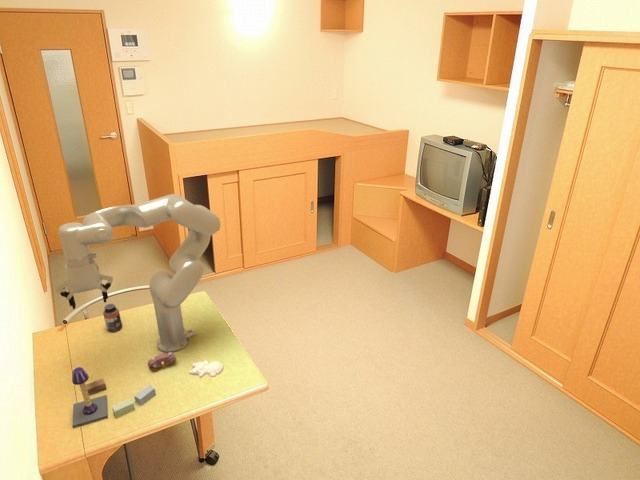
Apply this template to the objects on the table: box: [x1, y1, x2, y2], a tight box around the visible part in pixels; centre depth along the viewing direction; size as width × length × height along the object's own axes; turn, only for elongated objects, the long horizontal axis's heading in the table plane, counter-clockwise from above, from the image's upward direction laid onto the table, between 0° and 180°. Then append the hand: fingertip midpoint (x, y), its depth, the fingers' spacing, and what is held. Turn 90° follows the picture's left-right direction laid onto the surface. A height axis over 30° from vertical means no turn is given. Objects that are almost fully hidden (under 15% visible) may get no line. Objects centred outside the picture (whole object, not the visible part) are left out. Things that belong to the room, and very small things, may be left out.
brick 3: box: [133, 384, 157, 407], centre depth 150 cm, size 6×3×3 cm, turn 148°
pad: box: [71, 394, 109, 429], centre depth 145 cm, size 10×10×1 cm
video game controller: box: [147, 352, 177, 369], centre depth 165 cm, size 10×5×7 cm, turn 119°
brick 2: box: [111, 397, 136, 419], centre depth 145 cm, size 6×3×3 cm, turn 129°
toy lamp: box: [71, 366, 97, 415], centre depth 141 cm, size 5×5×17 cm
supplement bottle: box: [102, 303, 123, 333], centre depth 184 cm, size 6×6×11 cm
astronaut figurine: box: [188, 359, 224, 379], centre depth 163 cm, size 9×12×3 cm
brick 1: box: [85, 378, 107, 397], centre depth 153 cm, size 6×3×3 cm, turn 125°
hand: (90, 303), depth 152 cm, fingers open, 9 cm apart
